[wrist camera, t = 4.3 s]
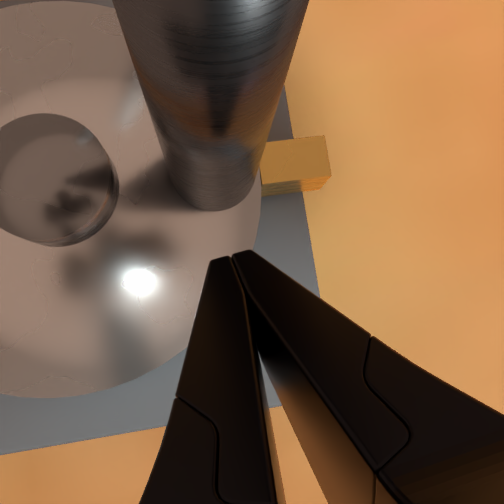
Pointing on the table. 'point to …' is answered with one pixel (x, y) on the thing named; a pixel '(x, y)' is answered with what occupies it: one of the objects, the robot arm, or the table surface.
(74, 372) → the grey round part
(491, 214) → the table surface
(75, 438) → the post base
